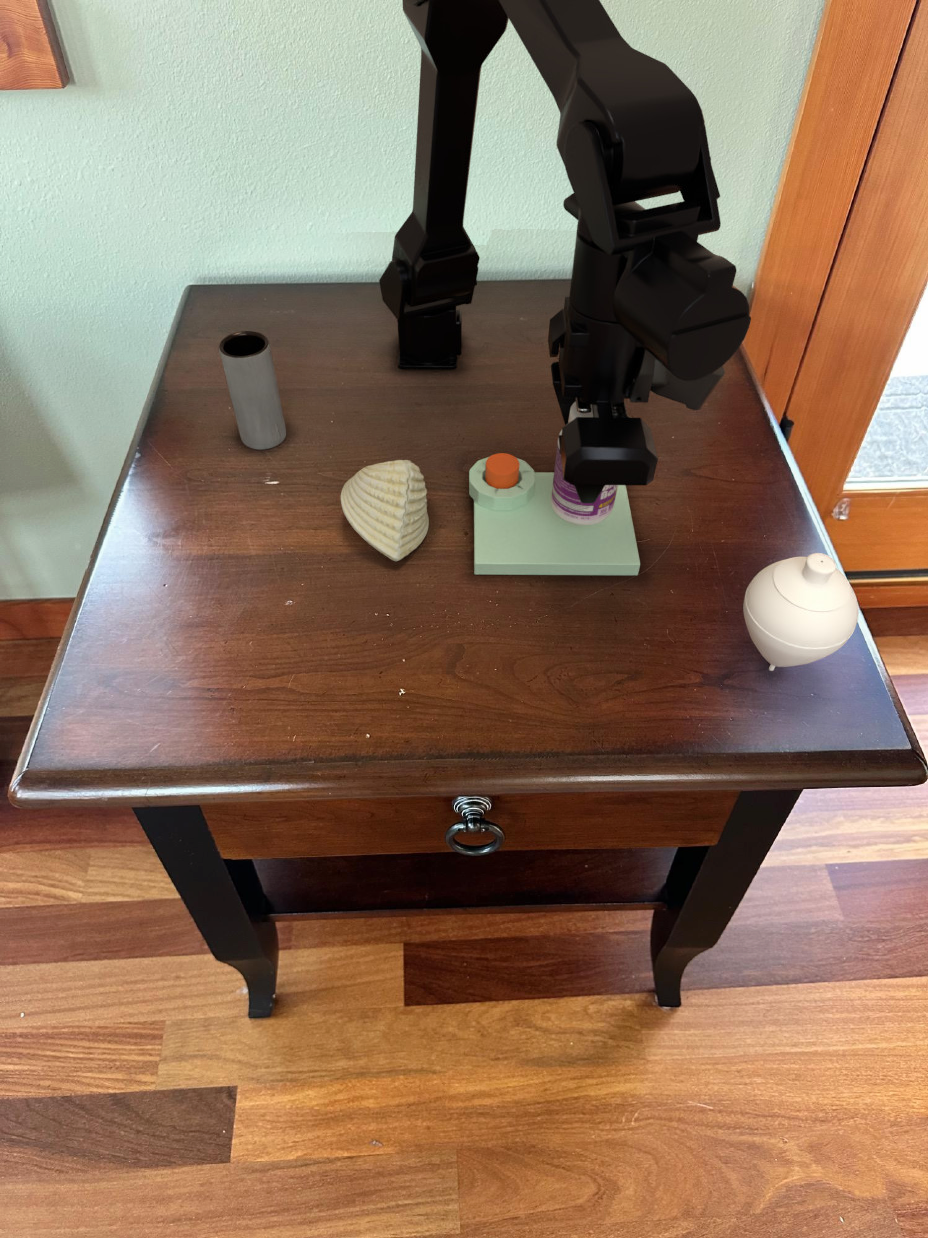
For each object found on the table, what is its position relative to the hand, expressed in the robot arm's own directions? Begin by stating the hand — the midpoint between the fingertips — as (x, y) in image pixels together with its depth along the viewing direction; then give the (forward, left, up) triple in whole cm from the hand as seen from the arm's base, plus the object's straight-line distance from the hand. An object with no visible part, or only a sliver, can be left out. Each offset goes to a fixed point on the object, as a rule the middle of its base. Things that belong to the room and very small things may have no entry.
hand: (584, 479), depth 68 cm
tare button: (-6, +5, -4) cm, 10 cm away
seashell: (-17, +2, -7) cm, 19 cm away
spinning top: (+14, -14, -7) cm, 21 cm away
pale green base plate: (-2, +2, -7) cm, 8 cm away
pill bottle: (0, 0, -3) cm, 3 cm away
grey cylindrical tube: (-30, +15, -7) cm, 34 cm away
